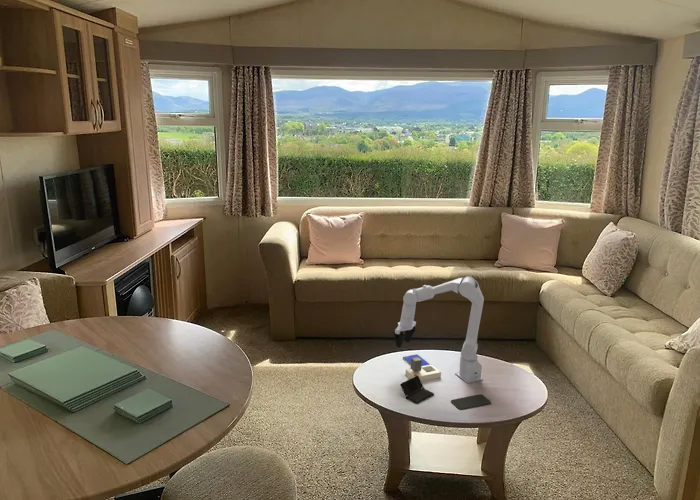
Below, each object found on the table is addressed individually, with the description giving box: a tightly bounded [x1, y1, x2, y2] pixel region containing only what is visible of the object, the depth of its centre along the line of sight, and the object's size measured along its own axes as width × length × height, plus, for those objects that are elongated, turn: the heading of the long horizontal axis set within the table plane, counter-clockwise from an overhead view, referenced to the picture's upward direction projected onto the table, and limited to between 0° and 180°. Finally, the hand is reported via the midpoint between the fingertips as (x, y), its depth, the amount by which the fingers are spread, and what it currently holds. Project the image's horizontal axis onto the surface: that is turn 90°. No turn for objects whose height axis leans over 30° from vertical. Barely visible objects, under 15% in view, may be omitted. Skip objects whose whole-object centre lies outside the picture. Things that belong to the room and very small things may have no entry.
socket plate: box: [405, 364, 442, 382], centre depth 236 cm, size 8×13×3 cm, turn 114°
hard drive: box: [402, 354, 431, 366], centre depth 249 cm, size 2×8×12 cm
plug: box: [409, 357, 422, 373], centre depth 235 cm, size 3×3×6 cm
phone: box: [450, 393, 492, 411], centre depth 216 cm, size 7×1×15 cm
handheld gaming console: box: [400, 376, 435, 405], centre depth 220 cm, size 12×7×10 cm
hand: (402, 344), depth 244 cm, fingers open, 7 cm apart
